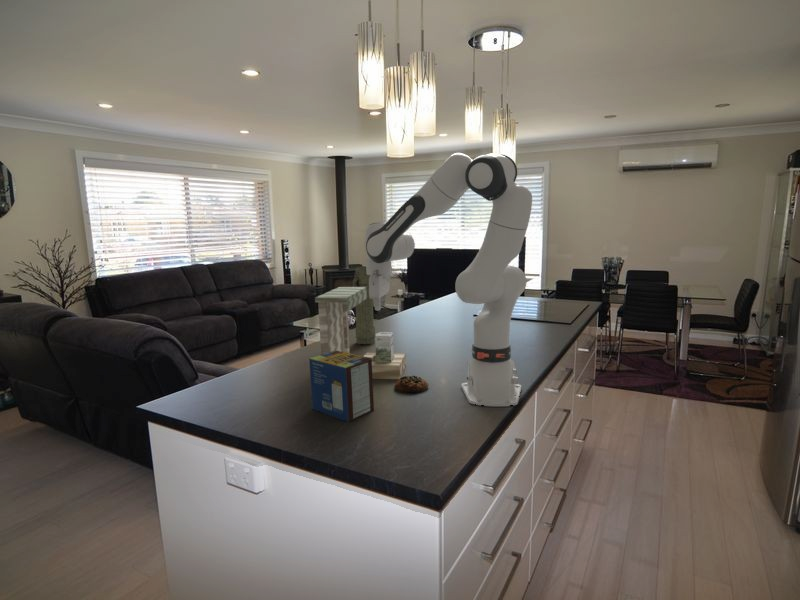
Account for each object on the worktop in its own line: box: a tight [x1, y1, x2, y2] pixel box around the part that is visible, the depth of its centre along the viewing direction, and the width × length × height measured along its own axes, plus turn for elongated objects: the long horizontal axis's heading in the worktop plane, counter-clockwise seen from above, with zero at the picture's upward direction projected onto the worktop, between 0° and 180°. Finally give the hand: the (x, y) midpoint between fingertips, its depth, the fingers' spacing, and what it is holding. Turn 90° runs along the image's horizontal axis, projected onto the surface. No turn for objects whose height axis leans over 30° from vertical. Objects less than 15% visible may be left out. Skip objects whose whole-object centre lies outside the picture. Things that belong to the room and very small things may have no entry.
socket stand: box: [314, 286, 407, 380], centre depth 161 cm, size 28×26×30 cm
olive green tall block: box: [352, 265, 376, 345], centre depth 203 cm, size 9×12×35 cm
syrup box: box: [374, 331, 395, 362], centre depth 161 cm, size 6×6×14 cm
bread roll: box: [394, 375, 430, 395], centre depth 146 cm, size 11×11×5 cm
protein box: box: [308, 350, 375, 423], centre depth 128 cm, size 10×15×16 cm
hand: (380, 308), depth 159 cm, fingers open, 8 cm apart
